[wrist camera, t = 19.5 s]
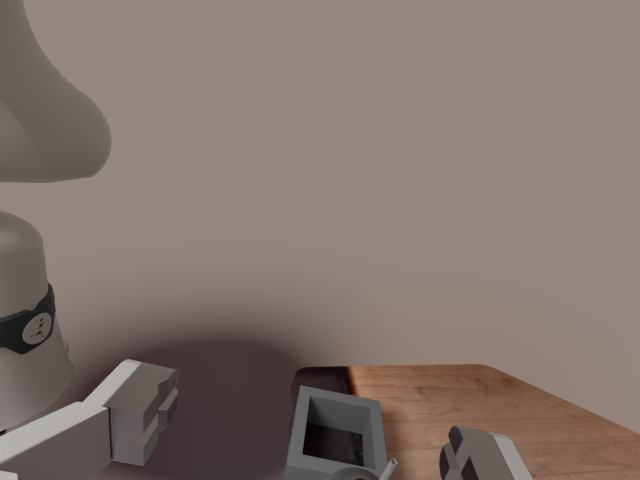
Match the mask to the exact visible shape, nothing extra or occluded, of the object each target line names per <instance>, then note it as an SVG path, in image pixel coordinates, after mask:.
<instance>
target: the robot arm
mask: <svg viewBox="0 0 640 480" xmlns="http://www.w3.org/2000/svg"><path fill="white" fill-rule="evenodd" d="M110 150H111V134H110V130H109V126H108V123H107V121H106V119H105V117H104V115H103V114H102V112H101V111H100V109H99V108H98V107H97V105H96V104H95V103H94V102H93V101H92V100H91V99H90V98H89V97H88V96H87V95H85V94H84V93H82V92H81V91H79V90H78V89H77V88H75V87H74V86H73V85H72V84H71V83H69V82H68V81H67V80H66V79H65V78H64V77H63V76H62V75H61V74H60V73H59V72H58V71H57V69H56V68H55V67H54V66H53V65H52V63H51V62H50V61H49V59H48V58H47V57H46V55H45V54H44V52H43V51H42V49H41V48H40V46H39V44H38V42H37V41H36V38H35V36H34V34H33V32H32V30H31V27H30V25H29V22H28V19H27V16H26V12H25V9H24V4H23V0H0V182H25V183H28V182H29V183H50V182H58V181H66V180H73V179H79V178H86V177H92V176H94V175H95V174H97V173H98V172H99V171H100V170H101V169H102V168H103V166H104V165H105V163H106V161H107V159H108V157H109V154H110ZM54 299H55V295H54V293H53V289H52V286H51V285H50V284H49V283H48V281H47V272H46V264H45V255H44V247H43V240H42V237H41V235H40V233H39V232H38V231H37V229H35V228H34V226H32V225H31V224H30V223H28V222H27V221H25V220H23V219H21V218H19V217H17V216H15V215H12V214H10V213H7V212H4V211H0V431H3V430H5V429H8V428H11V427H13V426H15V425H18V424H20V423H22V422H24V421H26V420H28V419H30V418H31V417H33V416H35V415H37V414H38V413H40V412H41V411H43V410H44V409H46V408H47V407H49V406H50V405H51V404H52V403H54V402H55V401H56V400H57V399H58V398H59V397H60V396H61V395H62V394H63V393H64V391H65V390H66V389H67V388H68V386H69V384H70V382H71V380H72V377H73V367H72V365H71V363H70V361H69V359H68V356H67V353H68V345H67V342H66V341H65V340H62V336H61V333H60V329H59V325H58V321H57V318H56V315H55V312H56V309H55V301H54ZM178 381H179V371H177V370H175V369H171V368H166V367H162V366H158V365H153V364H149V363H145V362H144V363H143V362H139V361H134V360H130V359H127V360H125V361H123V362H121V363H120V364H119V366H118V367H116V369H115V370H114V371H113V372H112V373H111V374H110V375H109V376H108V377H107V378H106V379H105V380H104V381H103V382H102V383H101V384H100V385H99V386H98V387H97V388H96V389H95V390H94V391H93V392H92V393H91V394H90V396H88V397H87V398H86V399H85V400H84V401H83V403H81V402H75V403H73V404H71V405H69V406H66V407H64V408H62V409H60V410H58V411H55V412H53V413H51V414H49V415H47V416H45V417H42V418H40V419H38V420H36V421H33V422H31V423H29V424H27V425H25V426H22V427H20V428H18V429H16V430H14V431H11V432H9V433H7V434H5V435H3V436H0V480H88V479H89V478H90V477H92V476H93V475H94V474H96V473H97V472H98V471H100V470H101V469H103V468H104V467H105V466H107V465H108V464H109V463H111V460H113V461H119V462H125V463H131V464H137V465H144V464H145V462H146V461H147V459H148V457H149V456H150V454H151V452H152V451H153V449H154V447H155V446H156V444H157V442H158V432H160V431H162V430H163V429H165V428H166V427H167V426H168V424H169V422H170V421H171V419H172V416H173V414H174V412H175V409H176V406H177V402H178V391H177V390H176V388H175V385H176V384H177V383H178ZM448 436H449V439H450V442H449V443H447V444H445V445H444V446H443V448H442V450H441V453H440V461H439V467H440V475H441V478H442V480H533V478H532V477H531V475H530V473H529V471H528V469H527V468H526V466H525V464H524V462H523V460H522V458H521V457H520V455H519V453H518V451H517V449H516V447H515V446H514V444H513V442H512V440H511V439H510V438H509V437H508V436H507V435H502V434H497V433H491V432H486V431H481V430H476V429H470V428H465V427H460V426H455V425H454V426H453V427H452V428H451V429H450V431H449V434H448Z"/></svg>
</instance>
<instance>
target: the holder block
mask: <svg viewBox="0 0 640 480" xmlns="http://www.w3.org/2000/svg"><path fill="white" fill-rule="evenodd" d="M306 423H310V424H315V425H320V426H325V427H330V428H335V429H340V430H345V431H350V432H354V433H359V434H362V441H363V458H364V467H361V466H356V465H351V464H346V463H341V462H336V461H332V460H327V459H322V458H317V457H312V456H307V455H302V452H303V444H304V437H305V429H306ZM387 465H388V461H387V453H386V445H385V438H384V430H383V422H382V415H381V407H380V401H376V400H371V399H366V398H361V397H356V396H351V395H346V394H341V393H336V392H331V391H326V390H321V389H316V388H311V387H306V386H300V391H299V396H298V401H297V405H296V410H295V416H294V421H293V427H292V433H291V439H290V444H289V450H288V456H287V461H286V467H285V473H284V479H283V480H325V479H326V478H327V477H328V476H330V475H331V474H332V473H334V472H335V471H336V470H339V469H343V468H346V467H360V468H362V469H365V470H368V471H370V472H371V473H373V474H374V475H376V476H377V477H378V478H380V477H381V475H382V473H383V472H384V470H385V468H386V467H387ZM389 480H390V478H389Z"/></svg>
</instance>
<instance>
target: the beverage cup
mask: <svg viewBox="0 0 640 480" xmlns="http://www.w3.org/2000/svg"><path fill="white" fill-rule="evenodd" d="M397 465H398V462H397V460H396V459H394V458H392V459H391V460H390V461H389V463H388V465H387V467H386V468H385V470H384V472H383V473H382V475H381V477H380V478H378V477H377V476H376V475H374V474H373V473H371V472H370V471H368V470H365V469H362V468H360V467H346V468H343V469H339V470H336V471H335V472H334V473H332V474H331V475H330V476H328V477H327V478H326V479H325V480H389V478H390V477H391V475H392V473H393V472H394V470H395V468H396V467H397Z"/></svg>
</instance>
